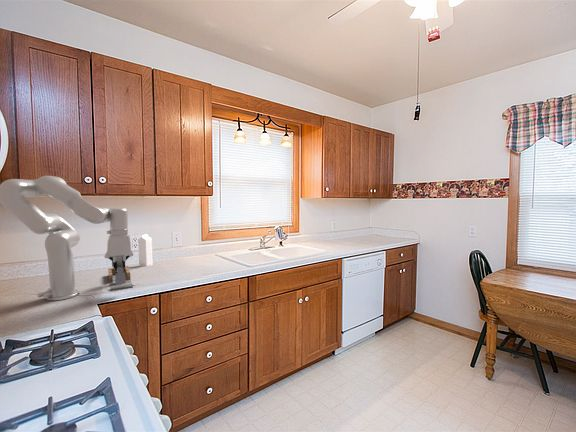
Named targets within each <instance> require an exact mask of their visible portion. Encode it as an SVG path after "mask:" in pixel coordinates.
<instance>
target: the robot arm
mask: <svg viewBox="0 0 576 432" xmlns="http://www.w3.org/2000/svg"><path fill="white" fill-rule="evenodd" d="M45 196H48V197H50V198H51V199H53V200H54V201H57V202H58V203H60V204H62V205H64V206H65V207H67V208H68V209H69V211H71V212H72V213H74V214H75V215H76V216H79V218H81V219H84V220H85V221H87V222H89V223H92V224H95V225H99V224H103V223H108V222H109V230H106V234H108V238H107V250H106V252H105V254H104V258H105V259H108V260H110V261H111V262H112V261H113V267H112V268H115V270H117V262H116V256H123V260H122V263H123V269H124V267H126V261H127V260H129V258H131V257H133V256H134V253H133V250H132V246H131V245H132V244H131V236H130V235H129V234H128V233H129V232H128V230H129V229H128V226H129V223H128V209H127V208H124V207H123V208H122V207H115V208H114V207H113V208H111V207H105V206H103V207H101V206H100V207H97V206H95V205H93V204H91V203H90V202H88V201H87V200H85V199H84V198H83V197H82V195H81V193H80V191H79V190H77V189H76V188H73V187H71V186H70V185H68V183H67V182H66V181H65V179H63V178H61V177H59V176H56V175H55V176H54V175H43V176H40V177H39V178H37V179H36V178H35V179H22V178H11V179H6V180H4V181H2V182H1V184H0V204H1V206H3V207H4V208H5V209H6V210H7V211H9V213H11V214H12V215H13V216H14V217H16V218H17V219H18V220H19V221H20V222H21V223H22V224H23V225H25V226H26V228H28V229H29V230H30V231H31V232H33V233H34V234H37V235H45V234H48V235H47V236H46V238H45V240H44V248H45V251H46V256H47V264H48V277H49V288H47V290H45V291H44V292H38V293H37V294H36V295H37V298H46V300H47V301H61V300H62V301H63V300H66V299H71V298H74V297H76V296H78V295H80V290H79V289H77V288H76V279H75V275H76V274H75V262H74V261H75V260H74V255H73V252H72V248H74V247H76V246H77V245H78V244H79V242H80V238H81V236H80V234H79V232H78V231H77V230H76V229H75V228H74V227H72V226H71V224H69V223H68V222H67V221H66V220H65V219H64V218H62V217H61V216H60V215H58V214H56V213H49V212H48V213H47V212H46V213H45V212H43V211H42V210H41V209H40V208H39V207H38V206H36V205H35V204H34V203H33V202H32V201H30V200H29V199H27V198H38V197H45Z"/></svg>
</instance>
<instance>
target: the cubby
mask: <svg viewBox="0 0 576 432" xmlns="http://www.w3.org/2000/svg"><path fill="white" fill-rule="evenodd" d="M107 269H108V280H109V288H110V289H109V290H110V292H113V290H114V291H118V290H119V289H120V290H126V289H131V288H134V287H133V282H132V281H131V271H130V269H129V266H125V267H124V269H123V271H125V280H126V283H124V284H118V285H116V284H115V272H117V270H115V268H113V267H112V268H107ZM125 288H126V289H125Z"/></svg>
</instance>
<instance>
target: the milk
mask: <svg viewBox="0 0 576 432" xmlns="http://www.w3.org/2000/svg"><path fill="white" fill-rule="evenodd" d="M137 242H138V244H137V245H138V264H139V266H138V267H139V268H140V267H148V266H153V265H154V264H153V263H154V262H153V261H154V260H153V239H152V237H150V236H149V234H148V233H145V234H141V237H139V238H138V239H137Z"/></svg>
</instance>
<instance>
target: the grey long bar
mask: <svg viewBox="0 0 576 432" xmlns="http://www.w3.org/2000/svg"><path fill="white" fill-rule="evenodd" d="M122 260H123V256H116V262H117V272H115V284H123V283H125V271H123V263H122ZM111 267H112V268H113V261H111Z"/></svg>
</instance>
